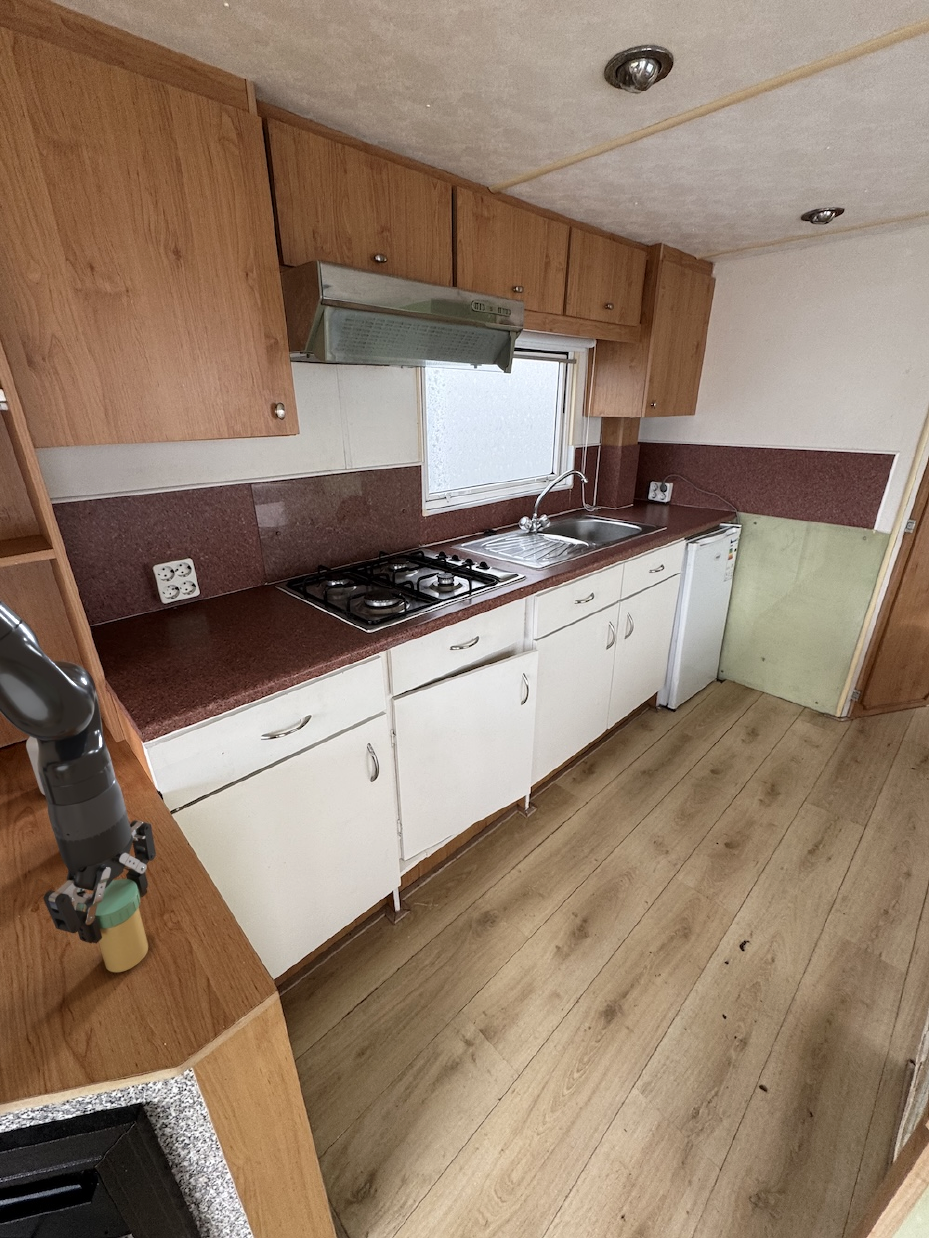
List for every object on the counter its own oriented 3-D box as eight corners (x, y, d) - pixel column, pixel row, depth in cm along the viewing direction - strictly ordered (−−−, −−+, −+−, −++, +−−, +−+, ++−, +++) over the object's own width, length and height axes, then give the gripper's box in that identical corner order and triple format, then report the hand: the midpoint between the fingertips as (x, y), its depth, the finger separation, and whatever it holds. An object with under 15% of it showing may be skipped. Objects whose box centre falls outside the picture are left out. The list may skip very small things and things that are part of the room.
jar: (127, 976, 72) (112, 921, 69) (95, 967, 73) (79, 912, 70) (156, 942, 77) (144, 889, 73) (126, 934, 78) (113, 881, 75)
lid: (151, 896, 74) (148, 883, 73) (114, 934, 69) (110, 920, 68) (115, 886, 76) (112, 874, 75) (76, 923, 70) (72, 910, 69)
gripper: (60, 865, 59) (93, 972, 65) (159, 786, 72) (180, 880, 78) (7, 852, 61) (44, 957, 67) (114, 777, 74) (137, 870, 80)
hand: (117, 915), depth 72 cm, fingers open, 7 cm apart
